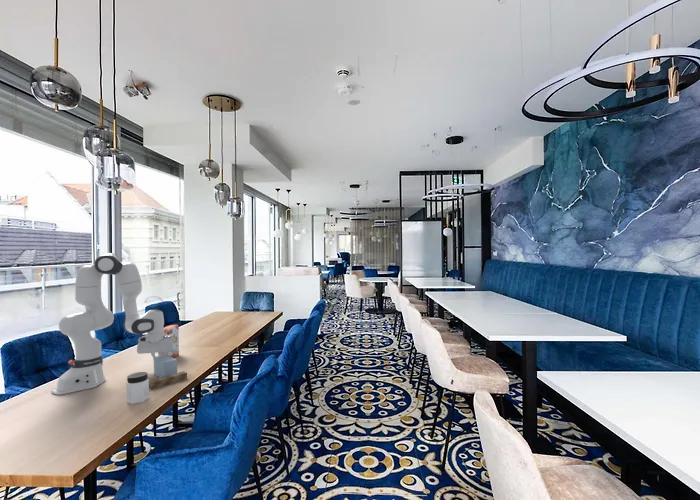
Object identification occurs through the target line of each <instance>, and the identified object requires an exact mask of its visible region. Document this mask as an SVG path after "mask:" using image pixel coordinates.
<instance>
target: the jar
mask: <svg viewBox="0 0 700 500" xmlns="http://www.w3.org/2000/svg"><path fill="white" fill-rule="evenodd" d="M149 379H150V378H148V372H146V371H138V372H134V373H131V374H129V375H128V376H127V379H126V383H125V384H126V403H128V404H130V405H135V404H140V403H144V402H145V401H147V400H148V399H149V398H150V388H149V381H150V380H149Z"/></svg>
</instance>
